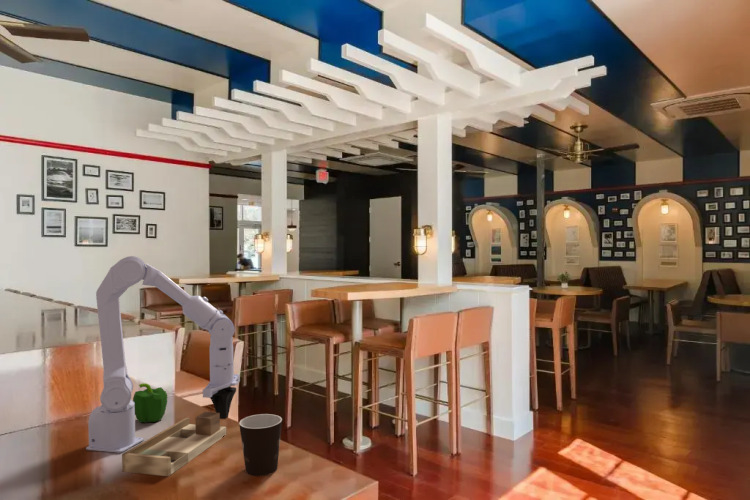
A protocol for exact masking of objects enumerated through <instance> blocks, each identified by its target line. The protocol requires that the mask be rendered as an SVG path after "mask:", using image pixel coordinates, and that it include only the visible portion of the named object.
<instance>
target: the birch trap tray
mask: <svg viewBox="0 0 750 500" xmlns="http://www.w3.org/2000/svg"><path fill="white" fill-rule="evenodd" d="M190 419H191V418H190V417H185V418H183V419H181V420H179V421H178V422H176V423H174V424H172V425H171V426H168V427H167V428H165V429H164V430H162V431H160V432H158V433H157V434H155V435H154V436H151V437H150V438H149V439H146V440H145V441H144V440H143V441H142V442H140V443H138V445H137V444H136V445H135V446H133V447H131V448H129V449H128V450H126V452H125V451H124V452H122V454H121V465H122V466H121V467H122V468H121V470H122V472H124V473H134V474H141V475H151V476H162V477H170V476H171V475H172V474H173V473H175V472H176V471H178V470H179V469H181V468H182V467H184V466H185V465H186V464H188V463H189V462H191V461H192V460H193V459H195V458H197V457H198V456H199V455H201V454H202V453H203V452H205V451H206V450H207V449H209V448H210V447H211V446H213V445H215V443H217V442H219V441H220V440H222V439H223V438H224V437H225V436H227V426H221V425H220V430H219V431H217V432H216V433H214V434H213V435H211V436H209V435H197V434H196V425H195V424H194V423H193V424H192V423H190ZM224 435H225V436H224ZM223 436H224V437H223ZM222 437H223V438H222Z"/></svg>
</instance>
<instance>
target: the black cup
mask: <svg viewBox="0 0 750 500" xmlns="http://www.w3.org/2000/svg"><path fill="white" fill-rule="evenodd" d="M282 422H283V418H282V417H281V416H279V415H276V414H271V413H270V414H269V413H260V414H259V413H258V414H253V415H249V416H245V417H244V418H242V419H240V421H239V422H238V425H239V430H240V431H239V432H240V439H241V445H242V447H241V448H242V452H243V460H244V461H243V462H244V468H245V473H246V474H247V475H249V476H252V477H263V476H268V475H270V474H273V473H275V472H276V471H277V470H278V464H279V463H278V462H279V456H280V445H281V444H280V442H281V434H282V433H281V432H282V424H283V423H282Z"/></svg>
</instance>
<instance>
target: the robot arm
mask: <svg viewBox="0 0 750 500" xmlns="http://www.w3.org/2000/svg"><path fill="white" fill-rule="evenodd" d="M141 281H142V285H143V286H149V287H155V288H157V289H158V290H160V291H161V292H162V293H164V294H165V295H166V296H168V297H170V299H172V300H174V301H175V302H176V303H178V304H179V305H181V307H182V314H183V315H184V316H185V317H187V318H188V319H189V320H191V322H193V323H194V324H196V325H197V326H198V327H200V328H201V329H203V330H207V331H208V333H209V334H210V336H209V337H210V338H209V339H210V341H209V343H210V345H209V347H208V348H209V383H208V384H207V385H206V386H205V388H202V398H206V399H208V398H209V399H210V400H211V402H212V404H213V406H214V410H215V413H220V420H226V419H228V417H229V414H230V409H231V405H232V402H233V398H234V396H235V394H236V392H237V388H236V387H235V386H237V385H238V384H239V383H240V382H241V378H240V374H239V373H237V374H236V373H235V371H234V370H235V369H234V368H235V367H234V366H235V365H234V362H235V361H234V344H233V341H234V337H233V336H234V335H235V331H236V328H235V326H234V325H235V324H234V322H233V321H232V320H231V319H230V318H229V317H228V316H227V315H226V314H224V311H223V310H221V309H217V308H216V307H215V306H213V305H212V304H211V303H210V302H209V299H208V297H206V296H203V297H202V296H201V295H191V294H189V293H188V292H187V291H185V290H184V289H183V288H182V287H180V286H179V285H178V284H177V283H176V282H174V281H173V280H172V279H171V278H169V277H168V276H167V275H166V274H165V273H163V271H162V270H160V269H157V268H156V267H154V266H153V265H151V264H149V263H148V262H146V263H145V262H144V261H143V260H142V259H141V258H140V257H138V256H134V255H131V256H125V257H123V258H122V259H119V260H118V261H117V262H116V263H115V264H114V265H112V266H111V267H110V268H109V270H108V272H107V274H106V275H105V276H104V278H103V280H102V281H101V282H100V284H99V287H98V288H97V290H96V292H95V294H96V296H95V298H96V306H97V307H96V308H97V317H98V326H99V327H98V328H99V335H100V337H99V338H100V346H101V357H102V367H103V376H102V379H103V381H102V382H103V389H102V391H101V394H100V403H101V405H99V406H97V407H95V408H94V409H93V410H92V411H91V413H90V414H89V417H88V423H87V424H88V426H87V427H88V446H86V448H85V450H86V451H98V452H106V453H108V452H109V453H117V454H118V453H119V454H121V453H124V452H125V451H128V450H130V449H132V448H133V447H135V446H137V444H138V445H139V444H140V443H142V442H144V440H145V439H144V437H139V436H138V437H137V436H136V415H135V403H134V402H133V399H132V393H133V391H134V390H133V389H134V384H133V381H132V379H131V378H130V376H129V374H128V369H127V367H128V366H127V363H126V355H125V346H124V345H125V344H124V335H123V324H122V314H121V305H120V303H121V302H120V298H121V296H123V295H124V293H125V292H126V291H127V290H128V289H129V288H130V287H133V286H134V285H137V284H138V283H139V282H141Z"/></svg>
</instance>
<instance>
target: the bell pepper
mask: <svg viewBox="0 0 750 500" xmlns="http://www.w3.org/2000/svg"><path fill="white" fill-rule="evenodd" d="M138 386H139V388H140V389H141V388H143V387H145V388H146V389H143V390H138V391H135V392H134V394H133V397H132V401H133V402H134V403H135V419H137V421H138V422H139V423H148V422H150V423H155V422H159V421H162V419H163V417H164V415H165V414H166V413H165V412H166V410H167V409H166V408H167V404H168V394H167V392H166V390H164V389H163V387H156V388H153V387H151V385H150V384H148V383H144V382H143V383H140V384H139V385H138Z"/></svg>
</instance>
